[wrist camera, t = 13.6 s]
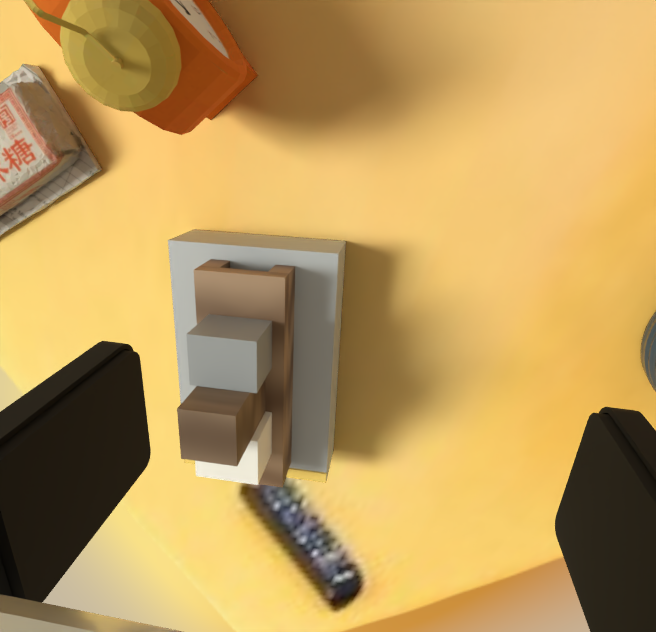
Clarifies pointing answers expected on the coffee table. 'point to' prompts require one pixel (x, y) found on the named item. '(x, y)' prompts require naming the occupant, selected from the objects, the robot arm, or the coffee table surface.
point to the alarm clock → (149, 56)
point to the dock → (309, 326)
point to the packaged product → (37, 147)
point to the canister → (649, 351)
